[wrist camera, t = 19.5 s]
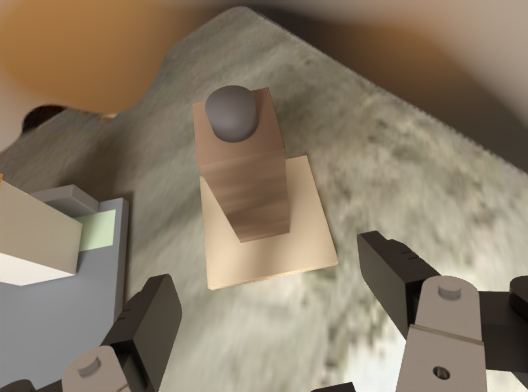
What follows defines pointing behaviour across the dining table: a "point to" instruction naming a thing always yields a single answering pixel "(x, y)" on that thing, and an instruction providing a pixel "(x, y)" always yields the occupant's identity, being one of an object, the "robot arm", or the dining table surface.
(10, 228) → the orange-capped white pillar
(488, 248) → the dining table surface
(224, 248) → the coaster
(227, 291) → the dining table surface
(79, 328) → the panel
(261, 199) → the pepper mill
